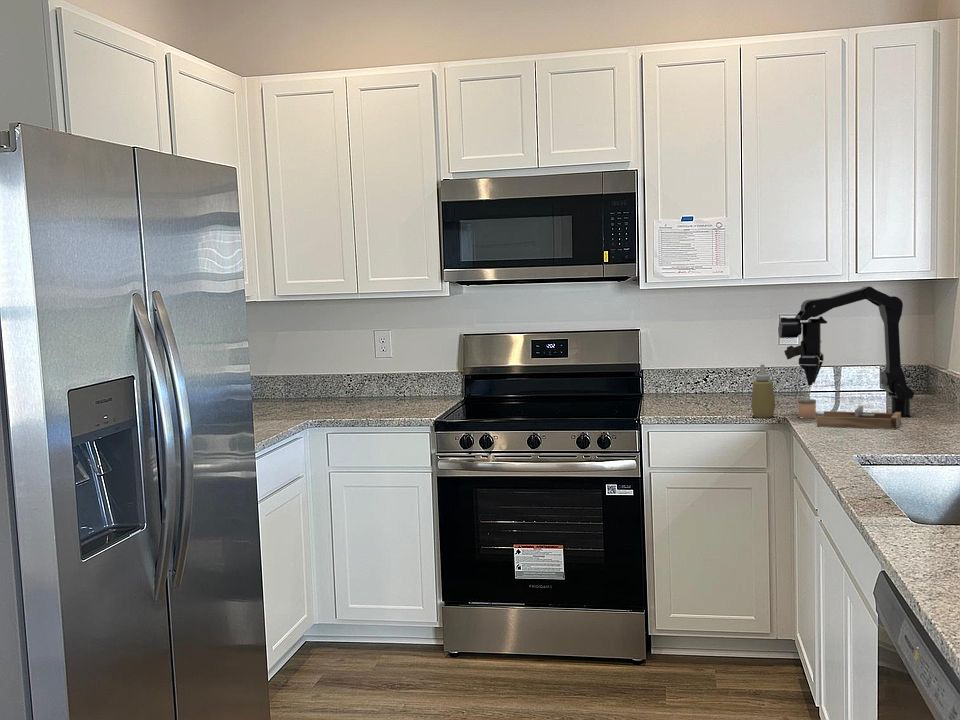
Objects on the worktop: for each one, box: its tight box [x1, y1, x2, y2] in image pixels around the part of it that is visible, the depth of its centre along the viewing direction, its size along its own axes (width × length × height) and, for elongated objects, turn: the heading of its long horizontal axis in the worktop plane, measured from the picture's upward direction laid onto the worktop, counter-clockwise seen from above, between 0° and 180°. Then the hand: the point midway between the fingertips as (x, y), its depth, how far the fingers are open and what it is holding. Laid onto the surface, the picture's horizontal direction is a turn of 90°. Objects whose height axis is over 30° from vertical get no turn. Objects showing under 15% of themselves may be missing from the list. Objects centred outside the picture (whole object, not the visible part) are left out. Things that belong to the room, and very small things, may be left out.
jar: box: [797, 398, 817, 419], centre depth 316 cm, size 6×6×6 cm
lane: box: [816, 410, 902, 430], centre depth 297 cm, size 14×23×4 cm, turn 60°
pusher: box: [854, 405, 875, 418], centre depth 296 cm, size 10×5×4 cm, turn 150°
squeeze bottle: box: [750, 364, 776, 419], centre depth 321 cm, size 8×8×18 cm
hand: (811, 384), depth 313 cm, fingers open, 9 cm apart
